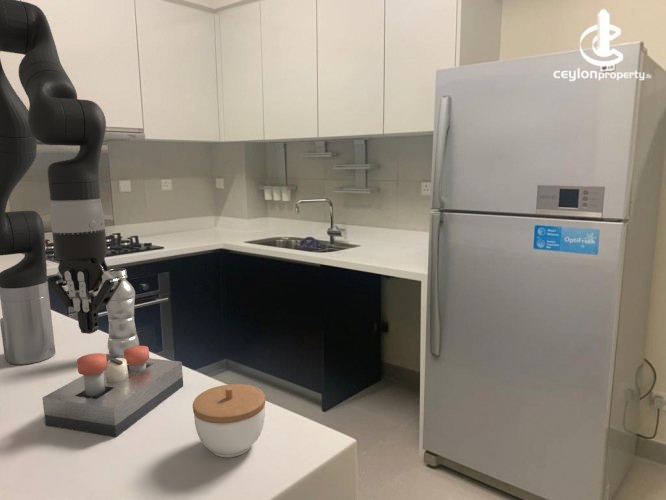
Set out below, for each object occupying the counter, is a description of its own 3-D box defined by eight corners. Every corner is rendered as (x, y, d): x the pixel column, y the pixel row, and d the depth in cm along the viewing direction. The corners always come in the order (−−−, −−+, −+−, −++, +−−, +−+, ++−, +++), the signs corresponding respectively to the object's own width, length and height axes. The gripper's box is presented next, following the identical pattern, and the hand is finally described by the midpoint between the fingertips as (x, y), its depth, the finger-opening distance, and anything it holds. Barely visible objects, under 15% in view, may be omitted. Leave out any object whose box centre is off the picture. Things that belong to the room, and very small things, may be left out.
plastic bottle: (120, 349, 115) (112, 266, 112) (145, 351, 114) (139, 267, 111) (102, 360, 109) (93, 272, 106) (129, 362, 108) (121, 273, 104)
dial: (102, 379, 87) (99, 361, 86) (120, 371, 90) (118, 353, 89) (114, 384, 85) (111, 365, 84) (132, 376, 88) (130, 358, 87)
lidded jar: (222, 422, 82) (219, 370, 80) (279, 434, 78) (277, 379, 76) (180, 458, 72) (176, 398, 70) (243, 474, 68) (240, 411, 66)
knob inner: (121, 383, 92) (118, 353, 91) (136, 373, 96) (133, 344, 95) (141, 385, 91) (138, 355, 90) (155, 376, 95) (153, 346, 94)
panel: (45, 425, 81) (42, 397, 80) (122, 378, 99) (120, 355, 99) (116, 437, 78) (113, 408, 77) (183, 385, 96) (181, 361, 95)
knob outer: (74, 396, 81) (70, 361, 80) (93, 384, 85) (90, 352, 84) (96, 399, 80) (93, 364, 79) (115, 387, 84) (112, 354, 83)
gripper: (129, 225, 80) (138, 327, 82) (63, 224, 83) (74, 322, 86) (96, 231, 72) (107, 343, 75) (25, 230, 76) (38, 336, 79)
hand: (89, 331), depth 81 cm, fingers closed
